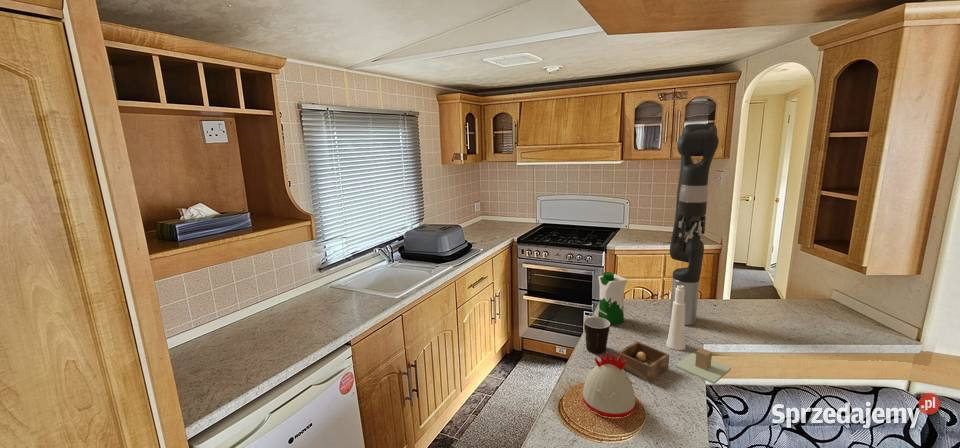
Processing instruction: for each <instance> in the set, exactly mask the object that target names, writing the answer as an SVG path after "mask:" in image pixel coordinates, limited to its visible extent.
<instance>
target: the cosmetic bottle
mask: <svg viewBox="0 0 960 448" xmlns="http://www.w3.org/2000/svg"><path fill="white" fill-rule="evenodd" d="M684 294H685V289H684V286H682V285H677V288H676V291H675V301H674V302H673V307H672V315H671V320H670V324H669V330H668V336H667V338H666V339H667V340H666V342H665V345H666V346H667V347H668V348H669V349H671V350H675V351H683V350H686V348H687V346H686V337H685V336H686V334H685V326H686V325H685V303H684Z"/></svg>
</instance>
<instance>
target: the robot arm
mask: <svg viewBox="0 0 960 448" xmlns="http://www.w3.org/2000/svg"><path fill="white" fill-rule="evenodd" d="M676 143H677V144H676V145H677V146H676V148H677V152H678V153H679V155H680V169H679V177H678V183H677V192H676V204H675V206H676V207H675V215H674V222H673V229H672V233H671V239H670V243H669V244H670V245H669V255H670V258H671V259H673V260H674V261H679V262H684V263H688V265H687V266H686V267H681V268H676V269H674V270H673V272H672V281H671V293H670V294H671V295H670V306H669V307H670V308H669V309H670V310H669V320H670V321H671V315H672V307H673V302H674V301H675V291H676V288H677V285H682V286H684V289H685V294H684V303H685V326H693V325H695V324H696V323H697V322H696V321H697V312H698V303H699V291H700V289H699V288H700V279H701V272H702V269H703V268H702V267H703V266H702V265H703V261H704V259H703V258H704V254H705V245H704V242H703V241H702V240H701V238H702V236H703V235H704V234H705V233H706V218H707V217H706V215H707V207H708V197H709V195H708V194H709V190H708V186H709V185H708V184H709V175H710V174H709V173H710V168H711V164H712V161H713V158H714V156H715V155H716V152H717V150H718V146H719V136H718V128H717V125H716V124H713V123H688V124H686V125H685V126H684V127H683V129H682V134H681V135H680V136H679V138H678V140H677V142H676ZM693 157H702V159H701V161H699V162H696V163H694V161H693ZM691 236H692V237H691Z"/></svg>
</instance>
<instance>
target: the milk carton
mask: <svg viewBox="0 0 960 448" xmlns="http://www.w3.org/2000/svg"><path fill="white" fill-rule="evenodd" d="M597 279H598V285H599V303H598V305H599V306H598V314H597V315H598V316H597V317H600V318H604V319H606V320H608V321H609V322H610V326H614V325H618V324H621V323H625V315H624V308H625V307H624V305H625V303H624V302H625V288H626V286H627V285H626V284H627V281H628V279H627V278H625V277H622V276H619V275H618V274H615V273H614V272H611V271H605V272H603V273H602V275H598V278H597Z"/></svg>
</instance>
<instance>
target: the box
mask: <svg viewBox="0 0 960 448" xmlns="http://www.w3.org/2000/svg"><path fill="white" fill-rule="evenodd" d="M638 352H643V353H645V355H646V360H645V361H639V360H638V359H637V358H636V354H637V353H638ZM620 354H621V362H624V361H625V360H626V359H627V362H626V364H625V366H624V367H623V368H622V369H623V370H624V371H625V372H626V373H627V374H628V373H629V374H630V375H633V376H634V377H636V378H639V379H641V380H643V381H645V382H647V383H648V384H649V383H651V382H652V381H654V380H655V379H656V378H658V377H659V376H661V375H662V374H664V373H665V372H666V371H668V370H669V363H670V354H668V353H666V352H664V351H662V350H659V349H658V348H654V347H652V346H650V345H647V344H645V343H642V342H640V341H637V340H636V341H635V342H633V343H631V344H630V345H627V346H626V347H624V348H622V349H621V350H619V351H617V352H616V355H617V356H616V361H617V360H618V358H619V356H620ZM645 363H647V364H649V365H647V364H645Z"/></svg>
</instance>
